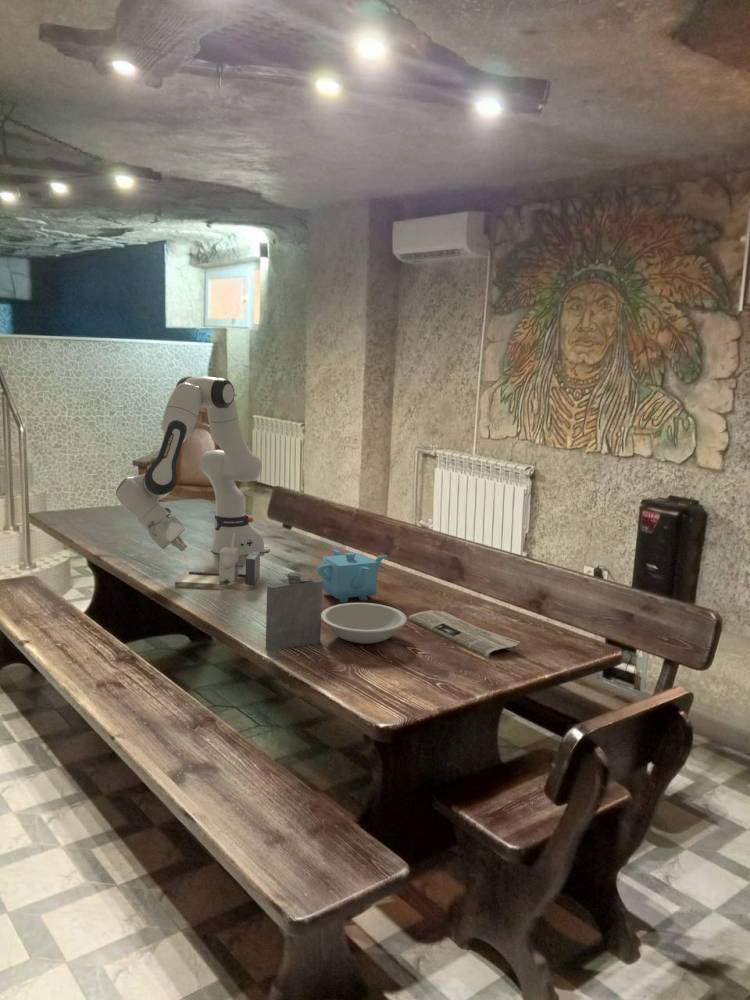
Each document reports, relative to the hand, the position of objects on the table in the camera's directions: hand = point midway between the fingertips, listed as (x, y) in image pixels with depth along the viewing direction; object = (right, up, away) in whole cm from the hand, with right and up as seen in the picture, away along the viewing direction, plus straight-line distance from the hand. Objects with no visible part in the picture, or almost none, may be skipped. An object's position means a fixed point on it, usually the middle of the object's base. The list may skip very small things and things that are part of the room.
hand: (184, 549), depth 260 cm
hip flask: (+41, -23, -49) cm, 68 cm away
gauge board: (+11, -12, +2) cm, 16 cm away
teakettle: (+56, -15, -5) cm, 58 cm away
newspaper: (+89, -23, -35) cm, 98 cm away
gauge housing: (+15, -10, 0) cm, 18 cm away
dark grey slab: (+22, -11, +1) cm, 25 cm away
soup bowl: (+60, -23, -42) cm, 77 cm away
